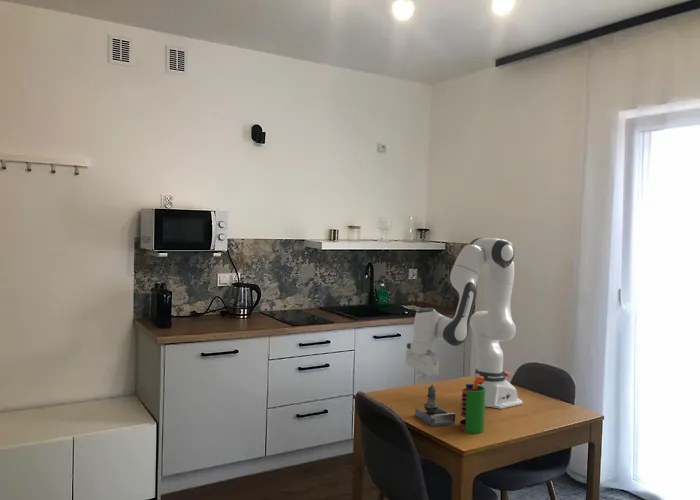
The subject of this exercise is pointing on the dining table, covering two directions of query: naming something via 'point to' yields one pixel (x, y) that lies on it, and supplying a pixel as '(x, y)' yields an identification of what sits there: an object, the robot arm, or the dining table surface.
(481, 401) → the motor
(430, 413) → the grey tall turned piece
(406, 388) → the dining table surface
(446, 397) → the dining table surface
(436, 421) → the grey open frame
